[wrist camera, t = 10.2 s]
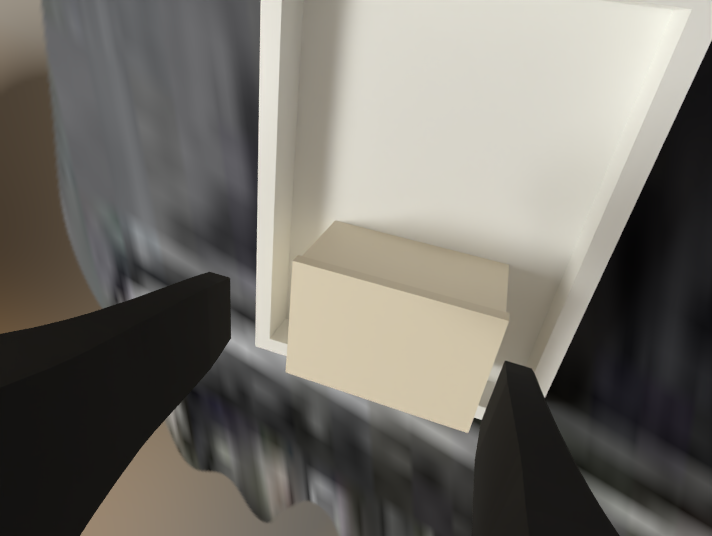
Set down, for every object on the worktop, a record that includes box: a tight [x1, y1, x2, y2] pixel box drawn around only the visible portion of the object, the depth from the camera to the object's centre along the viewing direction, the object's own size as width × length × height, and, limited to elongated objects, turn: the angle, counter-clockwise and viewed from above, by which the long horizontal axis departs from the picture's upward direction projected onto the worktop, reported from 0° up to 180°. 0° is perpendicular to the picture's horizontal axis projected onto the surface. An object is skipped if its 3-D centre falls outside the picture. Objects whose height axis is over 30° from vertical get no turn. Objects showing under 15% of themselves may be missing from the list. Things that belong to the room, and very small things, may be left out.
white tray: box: [255, 0, 712, 420], centre depth 19 cm, size 14×18×2 cm
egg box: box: [286, 221, 510, 433], centre depth 20 cm, size 8×6×4 cm
